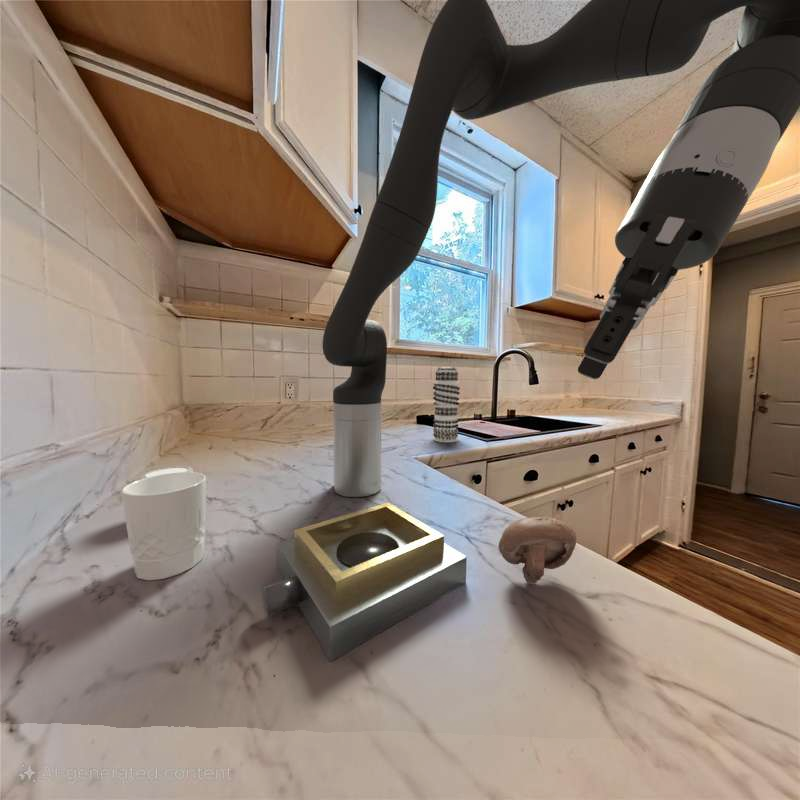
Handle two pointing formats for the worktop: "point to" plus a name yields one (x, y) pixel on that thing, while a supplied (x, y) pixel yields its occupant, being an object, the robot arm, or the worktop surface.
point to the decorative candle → (446, 405)
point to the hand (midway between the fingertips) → (590, 368)
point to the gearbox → (362, 574)
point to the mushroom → (537, 545)
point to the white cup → (165, 523)
